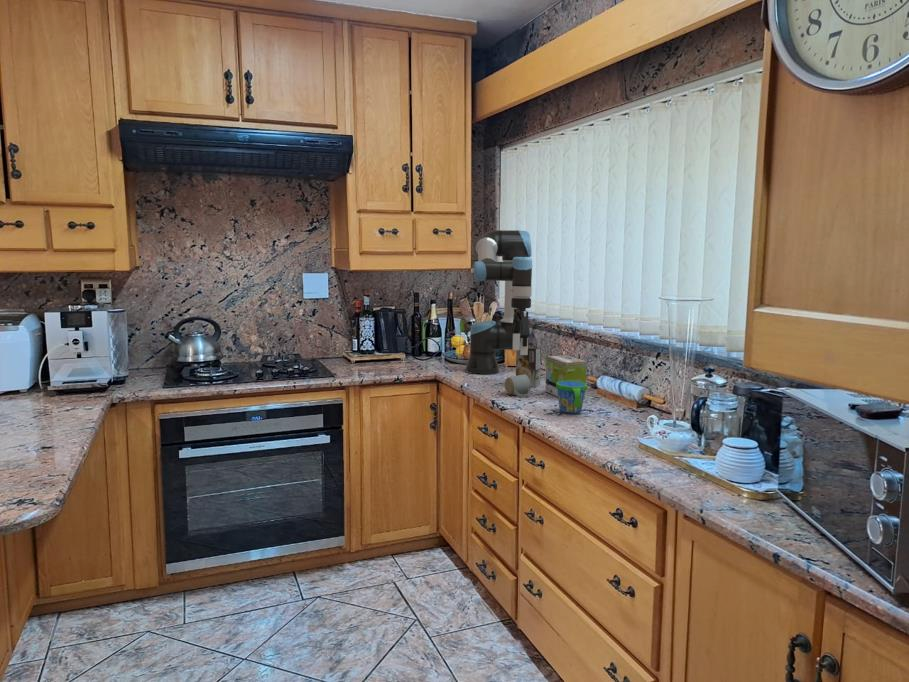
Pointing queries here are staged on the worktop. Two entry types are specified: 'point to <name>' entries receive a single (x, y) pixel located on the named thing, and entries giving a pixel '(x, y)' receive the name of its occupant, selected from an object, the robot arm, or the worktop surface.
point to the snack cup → (571, 396)
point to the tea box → (564, 371)
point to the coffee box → (529, 365)
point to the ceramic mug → (518, 385)
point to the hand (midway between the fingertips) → (519, 352)
